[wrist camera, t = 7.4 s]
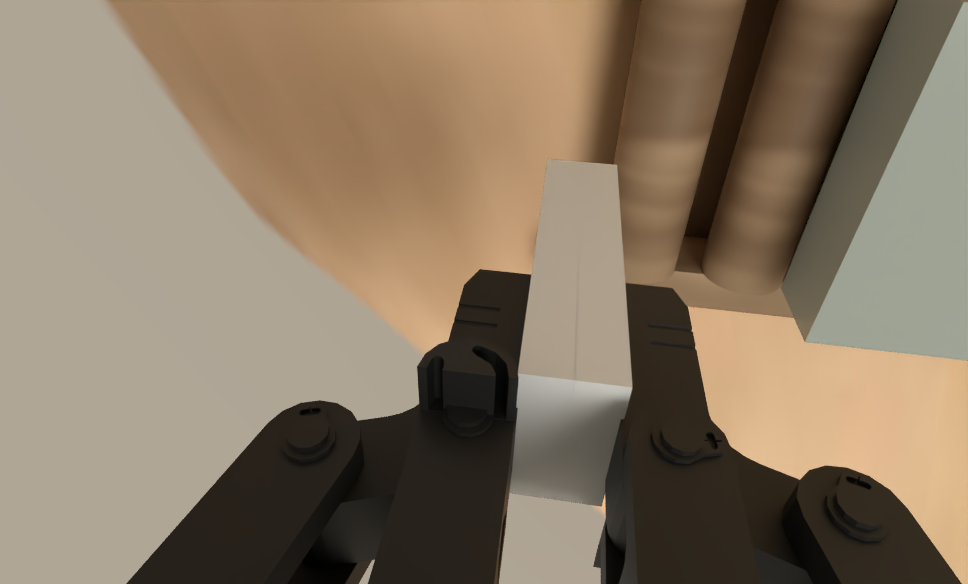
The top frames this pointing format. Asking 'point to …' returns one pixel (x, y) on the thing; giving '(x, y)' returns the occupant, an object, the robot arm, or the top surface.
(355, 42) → the top surface
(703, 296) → the roller bed
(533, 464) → the robot arm
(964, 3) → the stone slab
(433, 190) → the top surface
